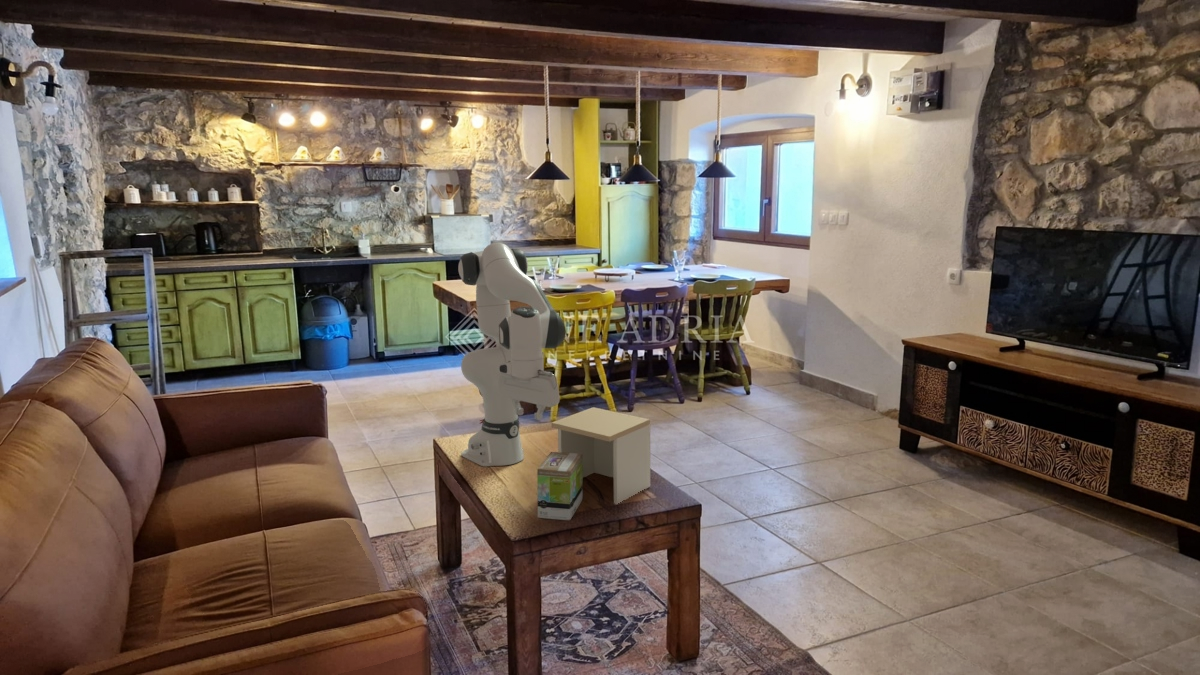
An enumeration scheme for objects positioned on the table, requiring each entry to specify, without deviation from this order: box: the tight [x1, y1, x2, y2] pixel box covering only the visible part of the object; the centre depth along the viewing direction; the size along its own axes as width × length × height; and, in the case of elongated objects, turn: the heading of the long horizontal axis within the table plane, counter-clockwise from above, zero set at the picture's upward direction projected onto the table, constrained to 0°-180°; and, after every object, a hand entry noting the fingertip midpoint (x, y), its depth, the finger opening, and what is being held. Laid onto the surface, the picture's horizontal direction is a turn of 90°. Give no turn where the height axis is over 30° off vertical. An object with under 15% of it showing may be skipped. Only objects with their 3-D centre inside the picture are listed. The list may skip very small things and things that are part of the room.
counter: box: [551, 406, 651, 505], centre depth 231 cm, size 22×20×22 cm
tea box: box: [536, 451, 584, 521], centre depth 217 cm, size 15×10×15 cm, turn 168°
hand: (528, 417), depth 208 cm, fingers open, 6 cm apart
